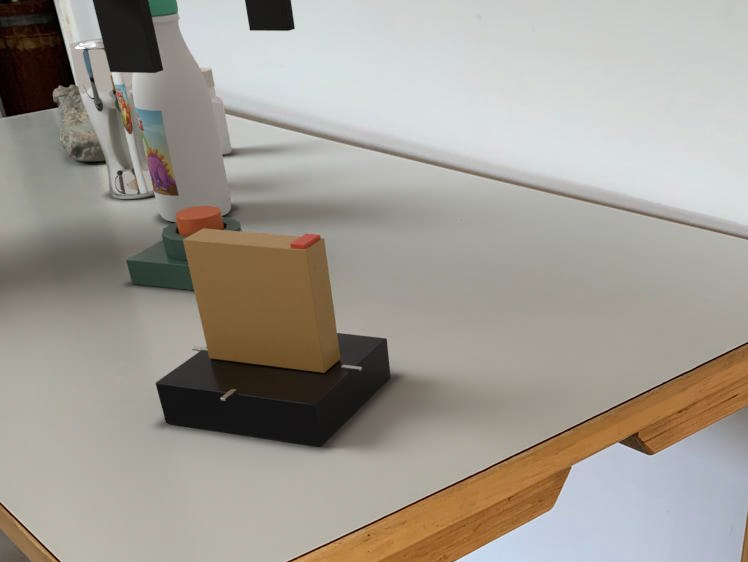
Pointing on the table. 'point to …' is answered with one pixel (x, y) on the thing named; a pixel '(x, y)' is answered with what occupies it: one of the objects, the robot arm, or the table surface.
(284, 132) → the table surface
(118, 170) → the beer glass
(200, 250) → the tan wooden block
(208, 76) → the pepper shaker
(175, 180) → the milk bottle
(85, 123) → the long grey stone
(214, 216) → the button
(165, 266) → the button block
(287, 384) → the black base
